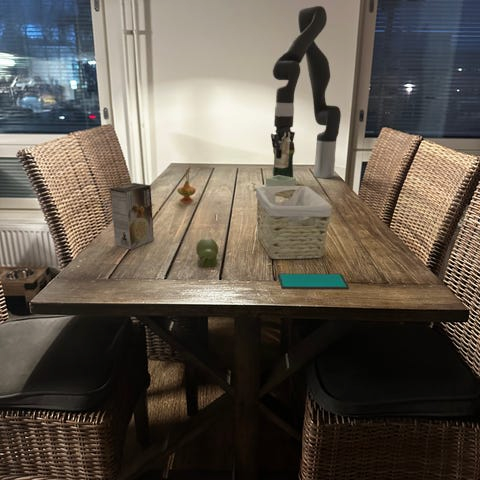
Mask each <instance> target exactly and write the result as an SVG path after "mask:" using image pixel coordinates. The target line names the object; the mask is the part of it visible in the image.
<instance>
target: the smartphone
mask: <svg viewBox="0 0 480 480" xmlns="http://www.w3.org/2000/svg"><path fill="white" fill-rule="evenodd" d="M278 279H279V283H280V286H281V289H282V290H349V288H350V287H349V285H348V283H347V282H346V280H345V278H344V276H343V275H342V274H341V273H278Z"/></svg>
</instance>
